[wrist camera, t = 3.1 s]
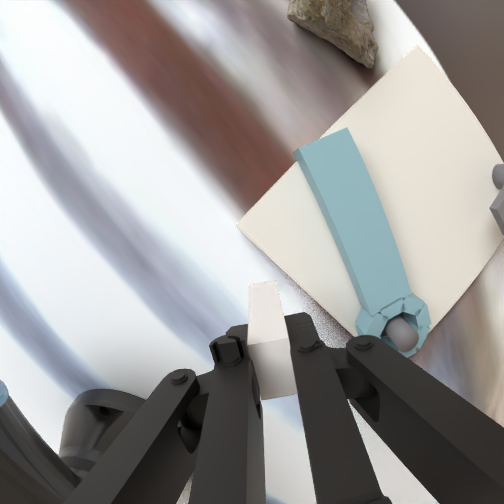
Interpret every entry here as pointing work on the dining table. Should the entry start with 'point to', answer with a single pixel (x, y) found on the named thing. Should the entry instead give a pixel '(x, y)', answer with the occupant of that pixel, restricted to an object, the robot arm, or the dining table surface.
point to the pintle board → (398, 198)
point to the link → (362, 235)
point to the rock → (338, 25)
